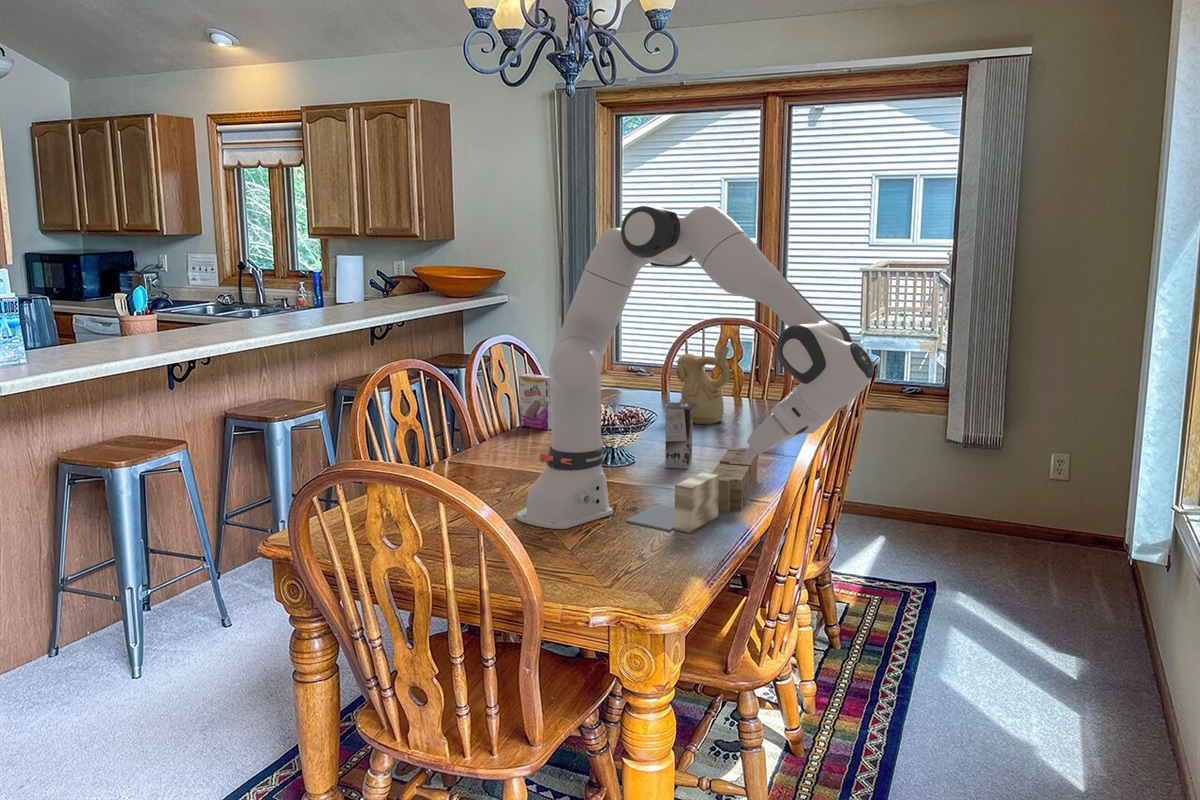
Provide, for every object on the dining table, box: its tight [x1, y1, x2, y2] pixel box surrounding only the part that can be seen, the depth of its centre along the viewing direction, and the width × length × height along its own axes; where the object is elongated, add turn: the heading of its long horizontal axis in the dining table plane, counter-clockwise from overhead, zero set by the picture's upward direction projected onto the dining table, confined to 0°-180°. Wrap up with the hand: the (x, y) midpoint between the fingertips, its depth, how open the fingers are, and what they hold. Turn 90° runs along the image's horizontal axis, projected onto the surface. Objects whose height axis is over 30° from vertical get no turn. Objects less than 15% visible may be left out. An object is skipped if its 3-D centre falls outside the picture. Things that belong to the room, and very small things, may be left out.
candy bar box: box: [518, 373, 552, 431], centre depth 289 cm, size 11×5×16 cm, turn 58°
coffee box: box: [664, 401, 693, 470], centre depth 245 cm, size 9×6×16 cm
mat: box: [625, 503, 675, 532], centre depth 202 cm, size 14×11×1 cm
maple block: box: [673, 471, 719, 535], centre depth 197 cm, size 12×4×10 cm, turn 145°
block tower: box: [711, 447, 760, 513], centre depth 219 cm, size 8×8×29 cm
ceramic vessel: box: [675, 345, 731, 425], centre depth 297 cm, size 17×20×25 cm
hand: (756, 452), depth 187 cm, fingers open, 8 cm apart
